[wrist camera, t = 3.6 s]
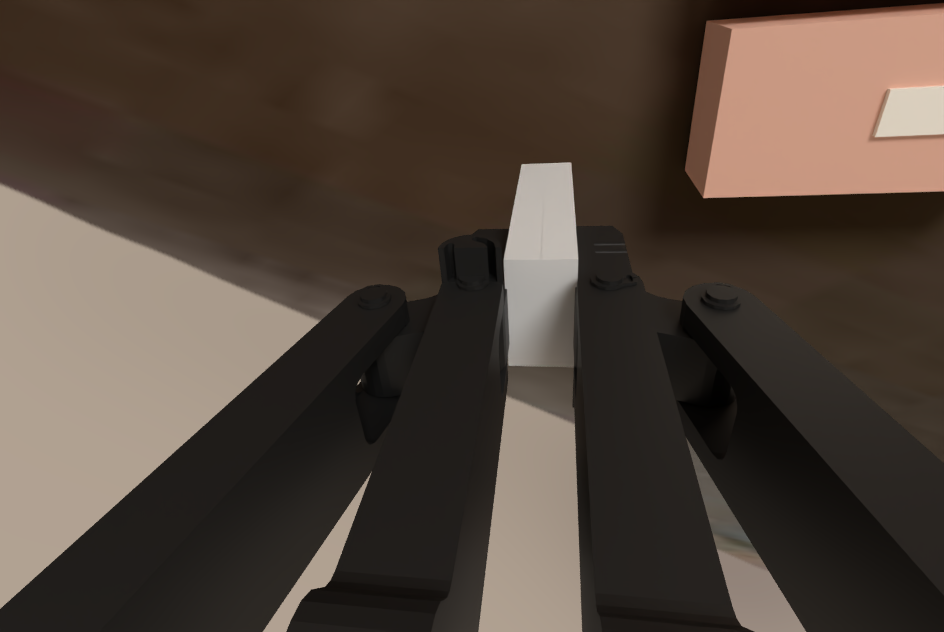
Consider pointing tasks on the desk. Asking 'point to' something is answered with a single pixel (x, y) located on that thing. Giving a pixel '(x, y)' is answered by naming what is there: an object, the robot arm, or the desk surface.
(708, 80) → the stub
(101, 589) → the robot arm
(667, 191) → the desk surface
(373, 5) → the desk surface
